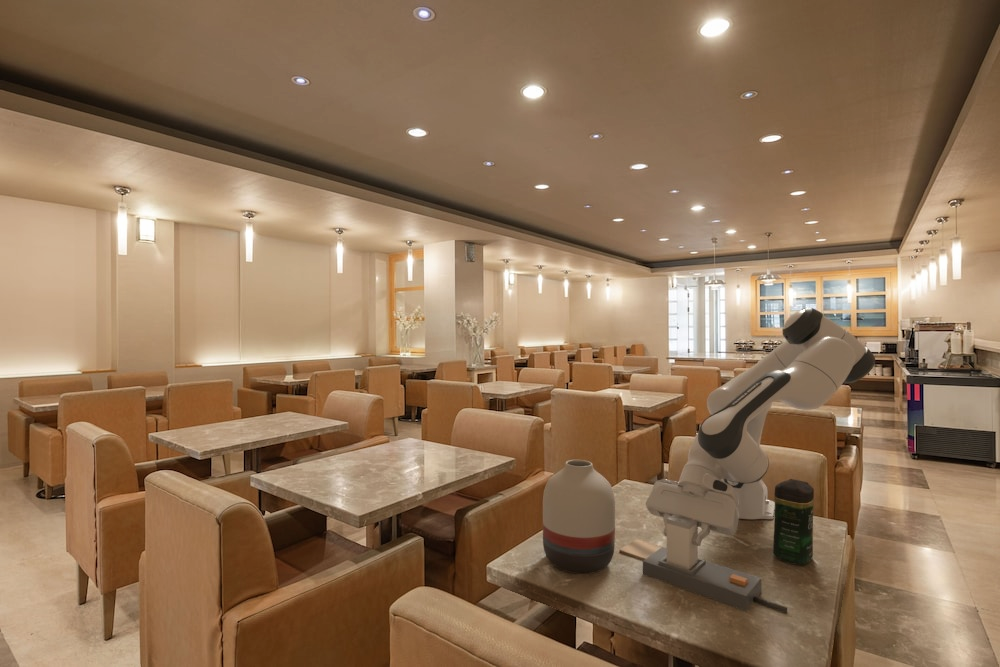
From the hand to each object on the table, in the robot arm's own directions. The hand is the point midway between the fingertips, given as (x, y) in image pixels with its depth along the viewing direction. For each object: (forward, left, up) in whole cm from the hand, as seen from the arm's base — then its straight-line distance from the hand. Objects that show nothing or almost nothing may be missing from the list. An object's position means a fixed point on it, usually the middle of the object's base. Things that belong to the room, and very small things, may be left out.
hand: (681, 539), depth 113 cm
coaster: (-7, -12, -8) cm, 16 cm away
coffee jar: (-29, +16, -9) cm, 34 cm away
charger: (-1, 0, -5) cm, 5 cm away
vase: (+9, -21, -9) cm, 25 cm away
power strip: (-1, +7, -8) cm, 11 cm away
